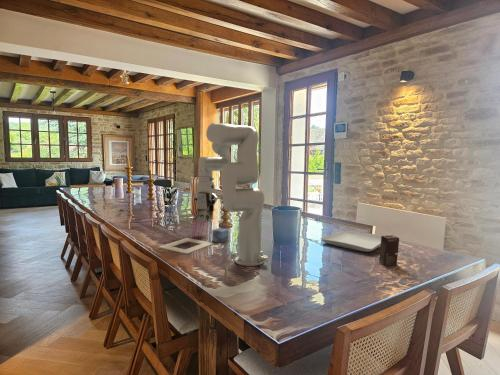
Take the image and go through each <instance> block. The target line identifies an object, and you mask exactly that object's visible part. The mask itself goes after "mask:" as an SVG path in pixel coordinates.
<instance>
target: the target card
mask: <svg viewBox="0 0 500 375" xmlns="http://www.w3.org/2000/svg"><path fill="white" fill-rule="evenodd" d="M188 242H189V243H192V244H197V245H194V246H191V247H189V248H186V249H185V248H180V247H178V246H179V245H182V244H185V243H188ZM214 244H215V243H214V242H211V241H210V242H209V241H204V240H199V239H194V238H190V237H189V238H188V237H185V238H183V239H178V240H176V241H173V242H170V243H166V244H163V245H161V246H158V248H159V249H164V250H168V251H172V252H177V253H181V254H184V255H185V254H186V255H189V254H191V253H192V252H193V253H194V252H196V251H198V250H202V249H203V248H207V247H209V246H212V245H214ZM176 246H177V247H176Z"/></svg>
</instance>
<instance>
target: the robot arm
mask: <svg viewBox="0 0 500 375" xmlns="http://www.w3.org/2000/svg"><path fill="white" fill-rule="evenodd" d="M205 132H206V139H207V140H208V141H209V142H211V143H212V144H211V149H212V151H213V153H215V154H216V155H218V156H201V157H199V158H198V181H197V186H196V193H194V194H193V198H194V201H195V203H196V204H197V201H198V193H199V192H201V193H209V203H210V205H209V212H213V213H214V211H215V210H214V209H215V204H216V203H217V201H218V199H219V197H218V195H216V187H215V182H214V180H215V178H214V177H213V172H220V174H221V175H220V180H221V182H220V183H221V192H222V196H221V197H222V205H223V207H224V209H225V210H226V212H228V213H237V212H242V213H241V214H240V217H239V220H238V255H237V256H236V257H234V263H236V264H237V265H240V266H246V267H255V266H260V265H262V264H264V263H265V262H266V263H268V262H269V255H265V254H264V251H263V250H262V218H263V211H264V210H263V208H264V204H265V194H264V192H263V191H262V190H261V189H259V188H257V187H241V188H240V187H239V188H237V186H243V185H245V186H246V185H253V184H256V183H257V182H258V181H259V176H260V175H259V164H258V144H259V134H258V131H257V130H256V128H254V127H253V126H250V125H239V124H230V123H221V122H220V123H219V122H212V123H210V124H209V125H208V126H207V129H206V131H205ZM233 145H234V146H238V145H239V147H238V148H237V151H236V159H237V161H231V159H232V157H231V155H232V154H231V151H230V148H231V147H232V146H233ZM211 201H212V202H211Z"/></svg>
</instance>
